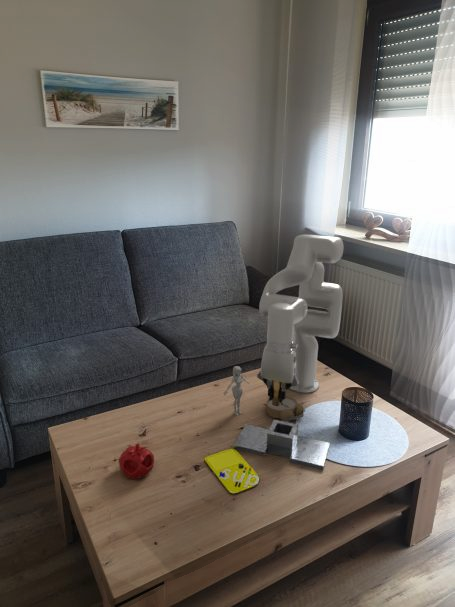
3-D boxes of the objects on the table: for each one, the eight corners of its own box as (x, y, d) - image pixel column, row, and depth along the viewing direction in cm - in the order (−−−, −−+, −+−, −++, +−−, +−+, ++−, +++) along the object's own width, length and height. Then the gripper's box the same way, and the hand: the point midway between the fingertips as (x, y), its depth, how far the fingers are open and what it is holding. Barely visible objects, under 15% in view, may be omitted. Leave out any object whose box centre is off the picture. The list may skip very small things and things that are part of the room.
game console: (201, 461, 147) (201, 457, 146) (233, 450, 152) (233, 446, 151) (231, 498, 132) (231, 494, 132) (265, 484, 137) (265, 480, 137)
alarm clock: (281, 392, 179) (311, 403, 167) (282, 405, 180) (312, 416, 168) (259, 402, 173) (288, 414, 161) (260, 415, 174) (289, 427, 162)
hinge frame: (245, 428, 162) (246, 410, 160) (329, 446, 153) (331, 428, 151) (233, 448, 152) (234, 429, 149) (323, 470, 143) (325, 450, 140)
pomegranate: (117, 464, 144) (115, 438, 141) (150, 457, 147) (149, 431, 144) (122, 486, 135) (120, 458, 132) (157, 478, 138) (156, 451, 135)
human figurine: (227, 421, 166) (228, 374, 160) (220, 416, 169) (220, 370, 163) (252, 408, 174) (253, 363, 168) (244, 404, 176) (246, 360, 170)
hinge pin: (273, 400, 150) (274, 372, 146) (281, 402, 149) (283, 373, 145) (270, 405, 147) (272, 376, 144) (279, 406, 146) (280, 377, 143)
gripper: (309, 344, 142) (305, 398, 148) (257, 335, 147) (255, 388, 154) (303, 354, 135) (299, 411, 142) (249, 345, 141) (247, 400, 147)
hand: (276, 399), depth 147 cm, fingers closed on hinge pin, 2 cm apart
